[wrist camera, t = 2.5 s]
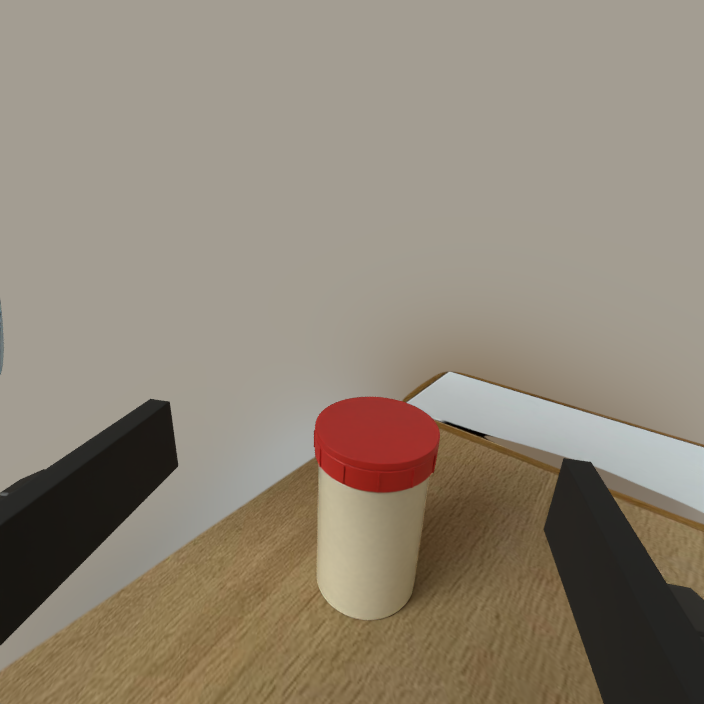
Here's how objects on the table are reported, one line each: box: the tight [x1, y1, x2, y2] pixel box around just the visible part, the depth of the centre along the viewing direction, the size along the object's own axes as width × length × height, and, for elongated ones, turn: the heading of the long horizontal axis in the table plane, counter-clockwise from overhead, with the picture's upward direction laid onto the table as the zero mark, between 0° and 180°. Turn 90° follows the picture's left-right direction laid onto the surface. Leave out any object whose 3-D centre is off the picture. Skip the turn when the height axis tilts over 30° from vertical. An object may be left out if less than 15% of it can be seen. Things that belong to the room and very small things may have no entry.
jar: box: [316, 464, 430, 620], centre depth 26 cm, size 7×7×12 cm
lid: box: [314, 397, 440, 493], centre depth 24 cm, size 8×8×2 cm
